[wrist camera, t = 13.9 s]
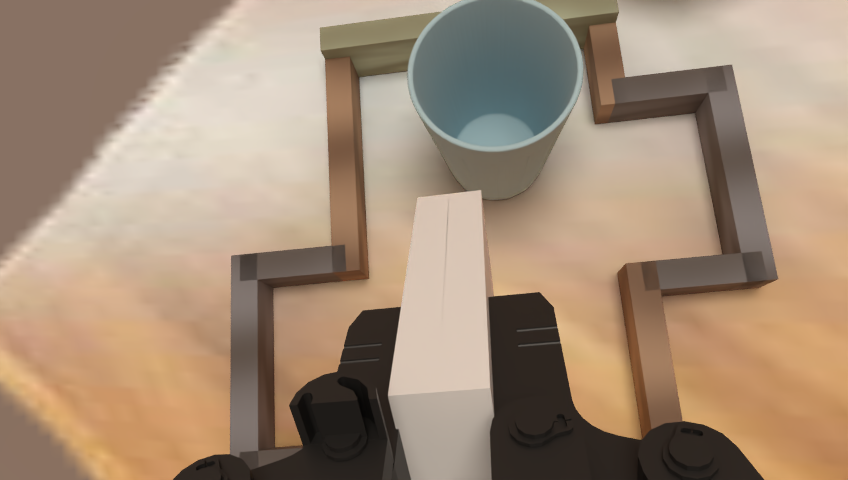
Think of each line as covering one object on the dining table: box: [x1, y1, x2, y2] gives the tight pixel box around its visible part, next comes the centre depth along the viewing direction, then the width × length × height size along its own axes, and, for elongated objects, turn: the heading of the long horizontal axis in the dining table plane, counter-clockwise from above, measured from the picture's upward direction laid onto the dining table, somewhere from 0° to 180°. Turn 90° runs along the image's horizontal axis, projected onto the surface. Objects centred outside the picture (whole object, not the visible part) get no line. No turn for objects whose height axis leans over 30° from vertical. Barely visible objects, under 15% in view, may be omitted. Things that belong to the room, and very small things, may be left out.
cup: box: [407, 0, 583, 200], centre depth 33 cm, size 8×8×10 cm
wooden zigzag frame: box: [230, 0, 778, 470], centre depth 34 cm, size 32×28×4 cm
